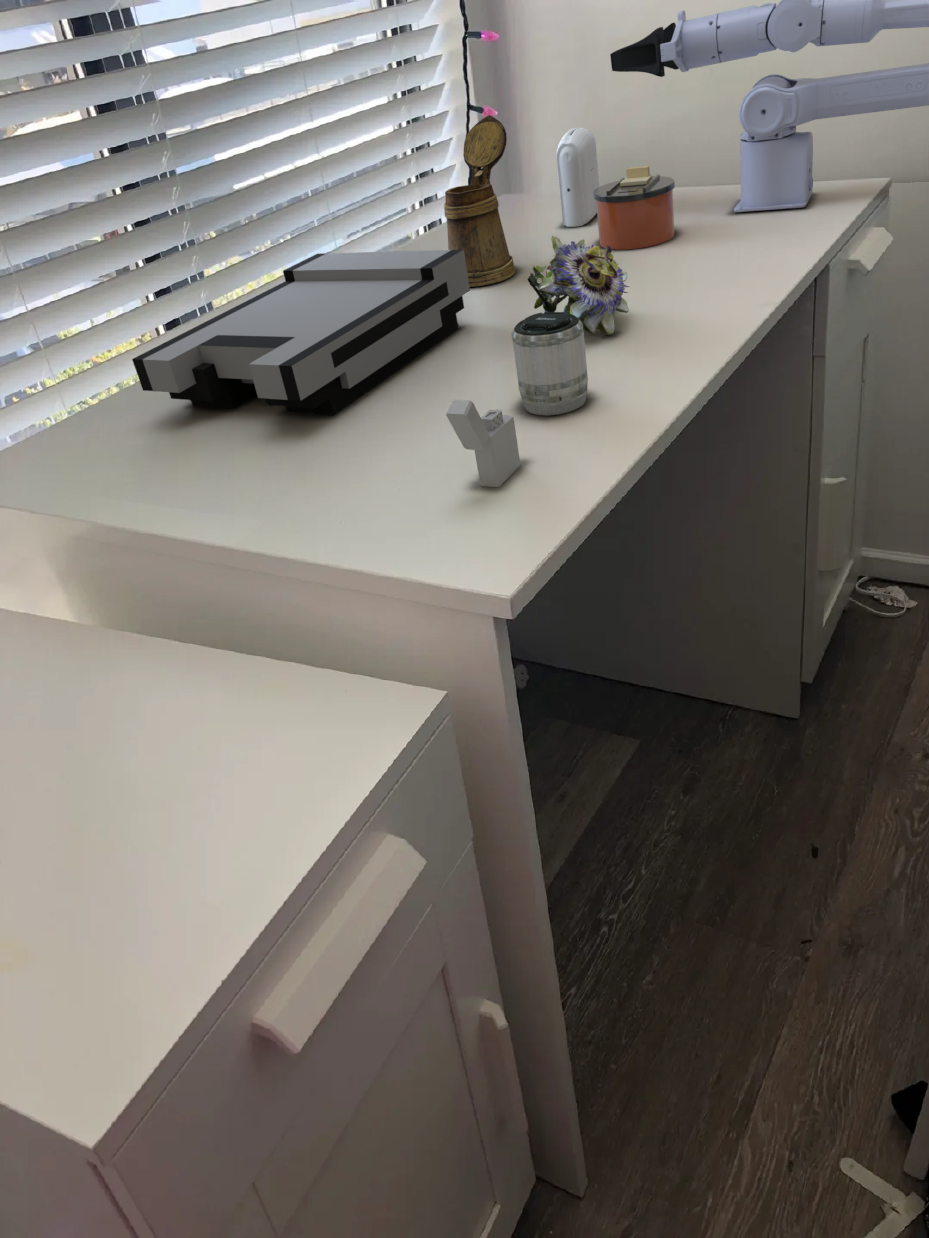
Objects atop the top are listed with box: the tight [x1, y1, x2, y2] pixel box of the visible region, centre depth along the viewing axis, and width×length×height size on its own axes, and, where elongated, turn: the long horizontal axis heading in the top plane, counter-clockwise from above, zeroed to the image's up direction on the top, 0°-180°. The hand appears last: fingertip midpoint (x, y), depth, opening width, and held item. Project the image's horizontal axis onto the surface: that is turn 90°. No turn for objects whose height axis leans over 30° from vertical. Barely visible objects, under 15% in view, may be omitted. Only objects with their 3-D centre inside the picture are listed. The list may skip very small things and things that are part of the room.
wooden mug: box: [443, 114, 516, 288], centre depth 129 cm, size 9×14×18 cm, turn 154°
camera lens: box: [511, 311, 589, 417], centre depth 89 cm, size 6×6×8 cm
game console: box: [131, 249, 471, 417], centre depth 108 cm, size 21×32×8 cm, turn 150°
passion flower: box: [526, 235, 630, 336], centre depth 106 cm, size 11×11×12 cm
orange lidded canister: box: [593, 174, 676, 251], centre depth 134 cm, size 11×11×7 cm
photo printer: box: [555, 126, 600, 228], centre depth 148 cm, size 10×4×12 cm, turn 160°
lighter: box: [445, 399, 521, 488], centre depth 78 cm, size 7×2×8 cm, turn 151°
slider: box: [620, 165, 653, 186], centre depth 133 cm, size 4×3×2 cm
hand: (618, 59), depth 136 cm, fingers open, 7 cm apart
